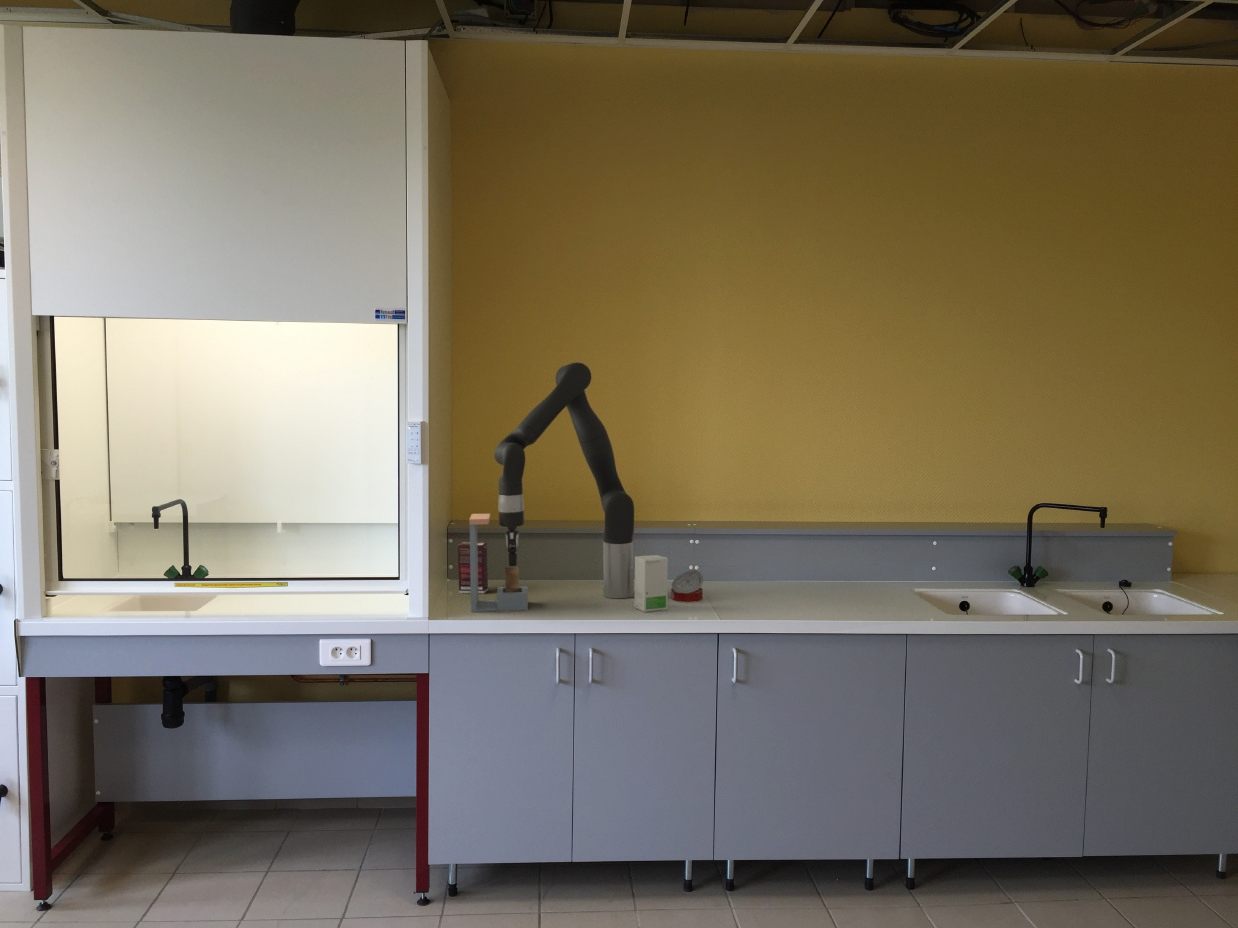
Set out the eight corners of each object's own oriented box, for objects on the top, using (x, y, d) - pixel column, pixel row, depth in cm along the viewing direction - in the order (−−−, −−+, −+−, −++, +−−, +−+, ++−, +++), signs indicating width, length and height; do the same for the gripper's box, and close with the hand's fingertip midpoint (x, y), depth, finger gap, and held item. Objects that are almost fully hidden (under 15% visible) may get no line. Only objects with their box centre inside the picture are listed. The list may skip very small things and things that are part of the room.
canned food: (703, 613, 256) (712, 589, 252) (673, 613, 253) (683, 588, 248) (691, 590, 265) (700, 565, 261) (662, 589, 262) (671, 564, 257)
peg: (519, 604, 249) (518, 565, 248) (519, 607, 245) (518, 568, 244) (505, 604, 249) (505, 565, 248) (505, 608, 245) (504, 568, 244)
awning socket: (527, 601, 253) (526, 512, 251) (527, 610, 242) (526, 518, 240) (473, 602, 251) (471, 513, 249) (470, 612, 240) (469, 519, 238)
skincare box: (644, 612, 240) (644, 560, 239) (633, 607, 246) (633, 556, 244) (668, 609, 244) (668, 557, 242) (657, 604, 250) (657, 553, 248)
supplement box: (488, 590, 268) (487, 542, 266) (484, 593, 263) (483, 544, 261) (462, 589, 268) (461, 541, 267) (458, 593, 264) (457, 544, 262)
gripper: (524, 512, 238) (525, 567, 239) (523, 505, 252) (525, 557, 253) (497, 513, 237) (499, 568, 238) (499, 506, 251) (500, 558, 252)
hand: (512, 563), depth 246 cm, fingers open, 8 cm apart
